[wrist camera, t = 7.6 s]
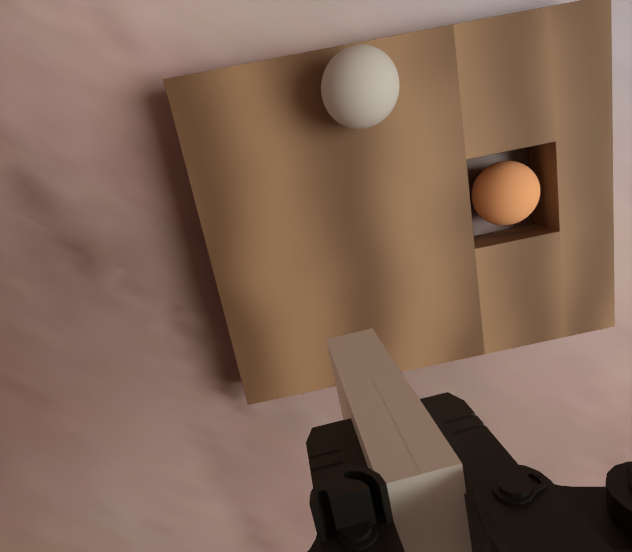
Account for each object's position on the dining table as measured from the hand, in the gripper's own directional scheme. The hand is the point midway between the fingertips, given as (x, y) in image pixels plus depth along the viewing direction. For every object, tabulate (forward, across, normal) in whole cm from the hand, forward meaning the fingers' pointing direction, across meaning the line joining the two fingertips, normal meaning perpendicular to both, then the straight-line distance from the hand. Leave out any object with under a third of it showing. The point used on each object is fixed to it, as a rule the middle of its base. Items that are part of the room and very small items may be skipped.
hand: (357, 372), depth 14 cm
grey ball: (+7, +3, +9) cm, 12 cm away
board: (+11, +5, +3) cm, 12 cm away
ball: (+9, +10, +3) cm, 14 cm away
